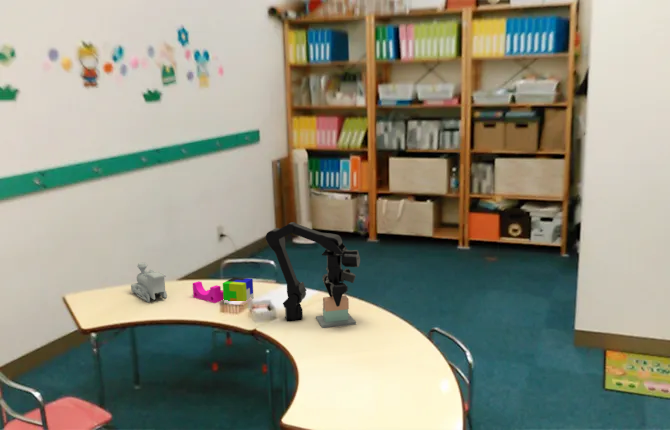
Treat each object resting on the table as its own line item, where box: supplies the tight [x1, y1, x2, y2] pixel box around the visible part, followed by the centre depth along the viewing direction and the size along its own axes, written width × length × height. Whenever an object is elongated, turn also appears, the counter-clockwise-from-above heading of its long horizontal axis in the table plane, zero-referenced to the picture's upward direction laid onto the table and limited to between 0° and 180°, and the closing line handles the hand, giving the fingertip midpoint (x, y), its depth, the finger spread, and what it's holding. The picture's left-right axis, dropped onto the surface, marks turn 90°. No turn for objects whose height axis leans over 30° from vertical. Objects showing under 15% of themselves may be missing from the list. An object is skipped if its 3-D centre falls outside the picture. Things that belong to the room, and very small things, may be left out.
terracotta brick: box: [322, 294, 350, 312], centre depth 257 cm, size 10×5×4 cm, turn 104°
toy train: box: [130, 262, 168, 303], centre depth 297 cm, size 11×28×15 cm, turn 38°
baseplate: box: [315, 312, 357, 329], centre depth 258 cm, size 14×12×1 cm
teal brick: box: [322, 307, 349, 322], centre depth 258 cm, size 10×5×4 cm, turn 104°
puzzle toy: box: [222, 276, 255, 301], centre depth 286 cm, size 10×10×10 cm
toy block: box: [192, 280, 224, 304], centre depth 292 cm, size 15×6×8 cm, turn 53°
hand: (335, 302), depth 257 cm, fingers open, 9 cm apart
